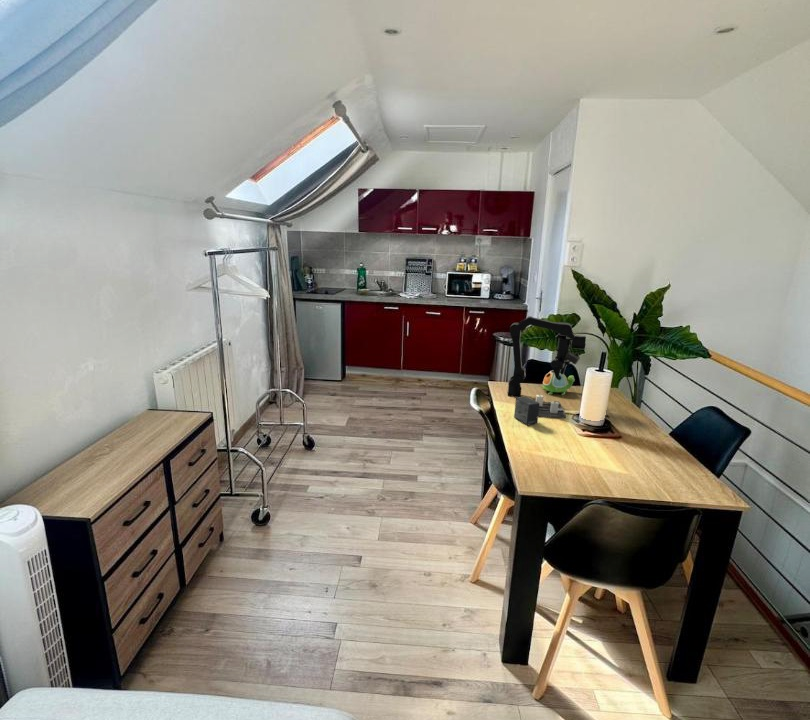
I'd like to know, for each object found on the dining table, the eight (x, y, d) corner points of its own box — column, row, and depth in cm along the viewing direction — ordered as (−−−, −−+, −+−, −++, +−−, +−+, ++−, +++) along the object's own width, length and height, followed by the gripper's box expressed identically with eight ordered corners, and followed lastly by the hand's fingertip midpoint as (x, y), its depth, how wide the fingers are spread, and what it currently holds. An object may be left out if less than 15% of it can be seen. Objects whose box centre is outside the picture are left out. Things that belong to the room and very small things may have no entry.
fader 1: (536, 406, 231) (537, 396, 230) (535, 404, 234) (536, 394, 233) (542, 406, 231) (543, 396, 229) (541, 404, 234) (542, 394, 232)
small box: (538, 424, 213) (540, 402, 210) (526, 426, 211) (528, 404, 208) (524, 416, 223) (526, 395, 220) (513, 417, 220) (515, 397, 218)
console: (533, 416, 223) (534, 411, 222) (529, 403, 240) (530, 399, 239) (566, 418, 221) (566, 414, 220) (559, 405, 238) (560, 401, 237)
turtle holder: (578, 395, 254) (581, 374, 251) (547, 396, 252) (549, 375, 249) (568, 388, 266) (570, 368, 263) (538, 388, 264) (540, 368, 261)
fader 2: (551, 413, 222) (552, 403, 221) (550, 410, 225) (551, 400, 224) (557, 413, 222) (558, 403, 220) (556, 411, 225) (557, 401, 223)
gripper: (575, 353, 226) (570, 383, 231) (583, 346, 242) (579, 375, 246) (552, 349, 232) (548, 379, 236) (562, 343, 247) (558, 371, 252)
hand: (559, 376), depth 242 cm, fingers open, 9 cm apart
